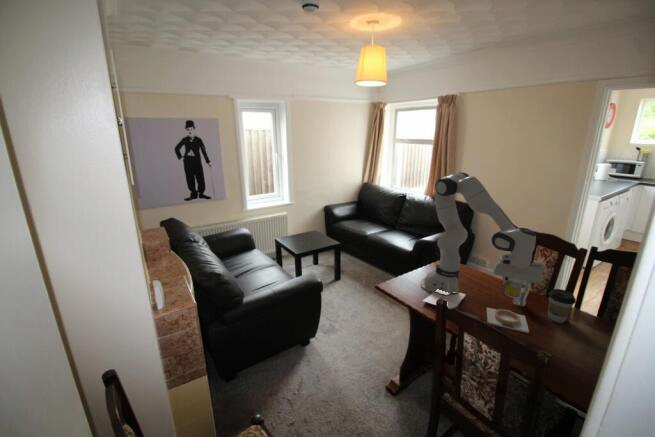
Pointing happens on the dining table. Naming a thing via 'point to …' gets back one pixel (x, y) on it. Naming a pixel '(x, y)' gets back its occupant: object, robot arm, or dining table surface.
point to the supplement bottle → (514, 286)
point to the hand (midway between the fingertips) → (514, 285)
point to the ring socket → (507, 319)
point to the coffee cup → (560, 304)
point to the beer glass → (522, 295)
